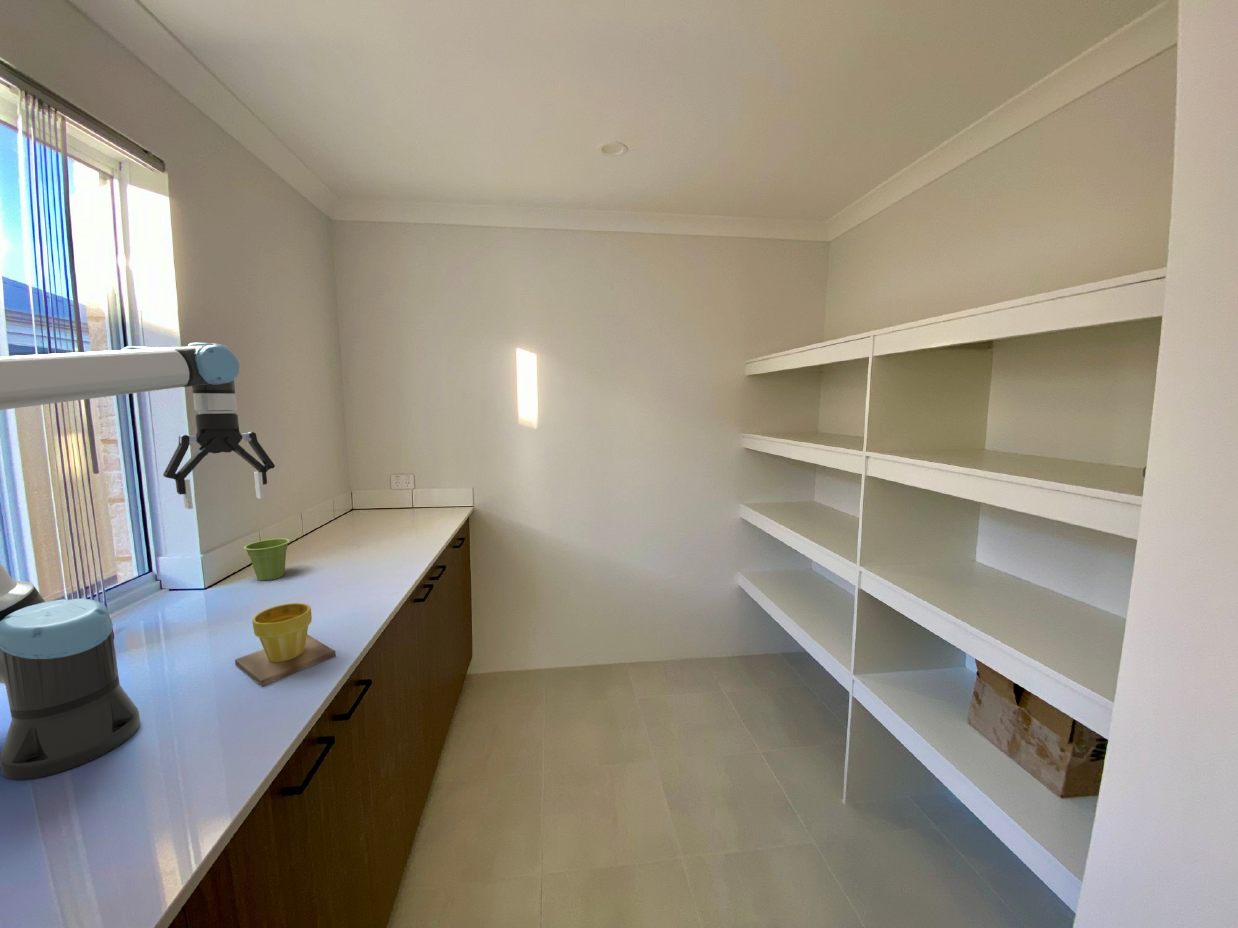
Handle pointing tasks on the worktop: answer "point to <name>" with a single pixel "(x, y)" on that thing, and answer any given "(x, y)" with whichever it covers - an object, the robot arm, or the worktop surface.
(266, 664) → the walnut board
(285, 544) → the plant pot
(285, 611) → the plant pot
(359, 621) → the worktop surface
